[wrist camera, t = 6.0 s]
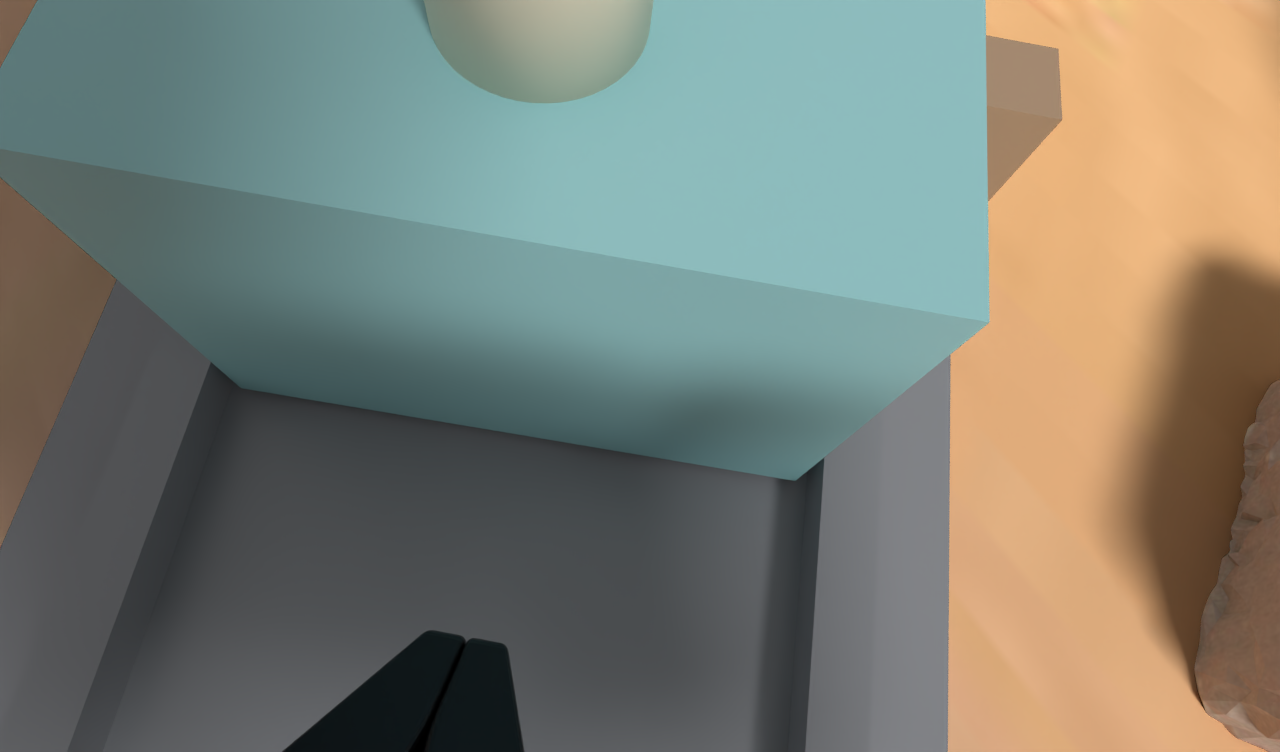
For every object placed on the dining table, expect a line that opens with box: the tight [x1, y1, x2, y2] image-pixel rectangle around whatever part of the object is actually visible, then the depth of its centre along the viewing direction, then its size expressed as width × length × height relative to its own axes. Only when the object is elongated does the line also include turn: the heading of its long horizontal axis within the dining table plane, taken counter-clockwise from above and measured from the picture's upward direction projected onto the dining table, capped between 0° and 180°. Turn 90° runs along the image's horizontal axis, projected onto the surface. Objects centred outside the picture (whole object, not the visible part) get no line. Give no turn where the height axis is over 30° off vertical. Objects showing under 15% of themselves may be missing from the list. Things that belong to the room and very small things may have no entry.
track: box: [0, 35, 1062, 752], centre depth 12 cm, size 19×16×5 cm
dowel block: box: [0, 0, 989, 481], centre depth 10 cm, size 6×10×12 cm, turn 82°
